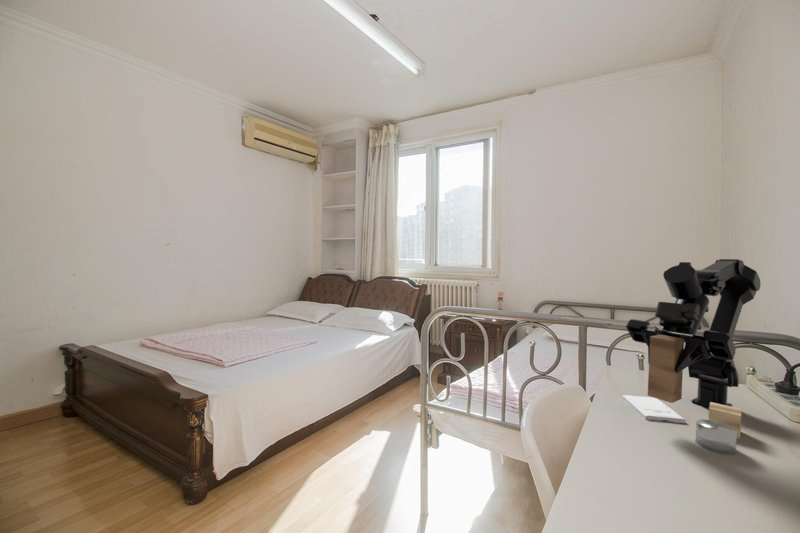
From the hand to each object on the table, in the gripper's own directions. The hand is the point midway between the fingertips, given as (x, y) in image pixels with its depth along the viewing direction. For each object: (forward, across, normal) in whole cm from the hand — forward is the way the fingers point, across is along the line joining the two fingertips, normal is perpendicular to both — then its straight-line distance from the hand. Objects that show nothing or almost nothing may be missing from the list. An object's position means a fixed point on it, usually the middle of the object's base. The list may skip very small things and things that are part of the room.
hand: (662, 367), depth 75 cm
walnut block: (+4, 0, +6) cm, 7 cm away
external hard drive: (+3, -6, +18) cm, 19 cm away
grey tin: (+8, +8, +11) cm, 16 cm away
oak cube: (+1, +7, +18) cm, 20 cm away
